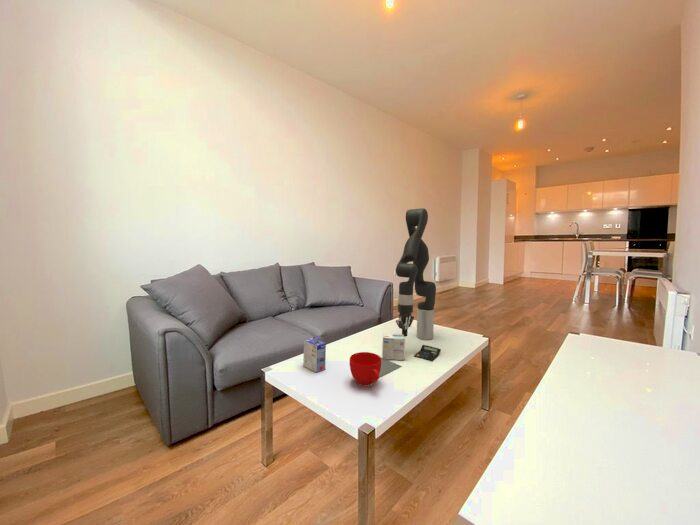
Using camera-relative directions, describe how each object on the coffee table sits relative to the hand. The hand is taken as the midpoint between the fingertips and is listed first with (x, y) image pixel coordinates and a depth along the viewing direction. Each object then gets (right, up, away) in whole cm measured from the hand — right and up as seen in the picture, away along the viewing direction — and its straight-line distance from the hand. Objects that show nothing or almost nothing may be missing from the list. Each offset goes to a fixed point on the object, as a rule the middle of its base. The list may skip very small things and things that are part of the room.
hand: (404, 336), depth 150 cm
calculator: (+11, -10, -2) cm, 15 cm away
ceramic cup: (-21, -12, -31) cm, 39 cm away
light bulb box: (-7, -9, -5) cm, 13 cm away
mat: (-16, -10, -14) cm, 24 cm away
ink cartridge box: (-44, -10, -17) cm, 48 cm away
